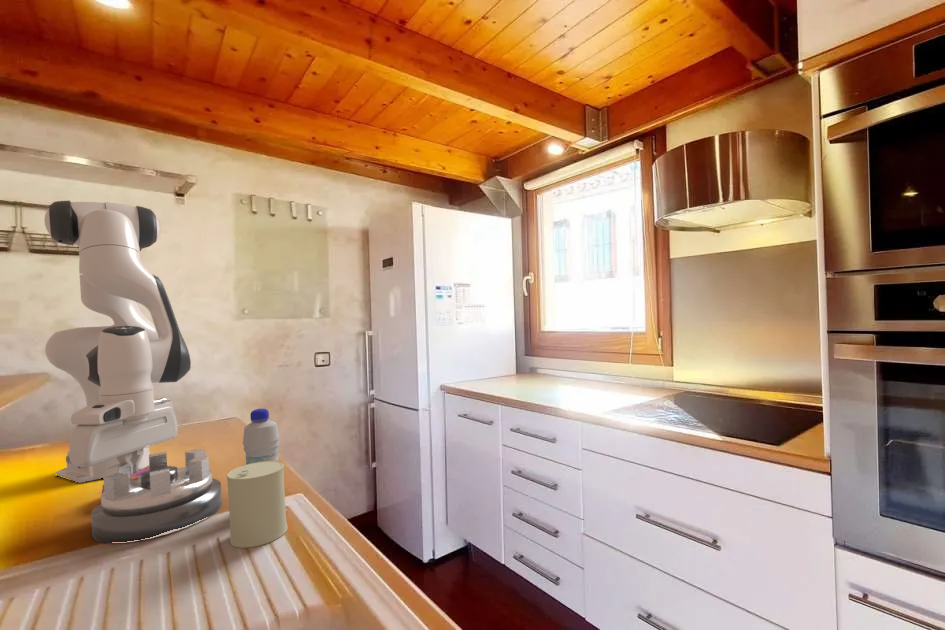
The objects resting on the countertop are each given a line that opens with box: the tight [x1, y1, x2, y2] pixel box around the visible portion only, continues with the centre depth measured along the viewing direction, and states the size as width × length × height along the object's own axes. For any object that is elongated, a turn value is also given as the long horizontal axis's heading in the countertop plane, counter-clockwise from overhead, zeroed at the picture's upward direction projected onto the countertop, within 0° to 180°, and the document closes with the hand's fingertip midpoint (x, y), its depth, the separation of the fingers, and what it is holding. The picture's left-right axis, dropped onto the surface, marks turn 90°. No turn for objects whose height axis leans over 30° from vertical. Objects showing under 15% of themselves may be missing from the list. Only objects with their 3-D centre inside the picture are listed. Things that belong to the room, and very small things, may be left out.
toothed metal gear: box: [100, 448, 213, 516], centre depth 89 cm, size 18×18×6 cm
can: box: [226, 461, 288, 549], centre depth 79 cm, size 9×9×12 cm
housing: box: [90, 477, 223, 544], centre depth 89 cm, size 21×21×4 cm
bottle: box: [242, 408, 280, 465], centre depth 91 cm, size 7×7×20 cm
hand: (131, 473), depth 91 cm, fingers closed
